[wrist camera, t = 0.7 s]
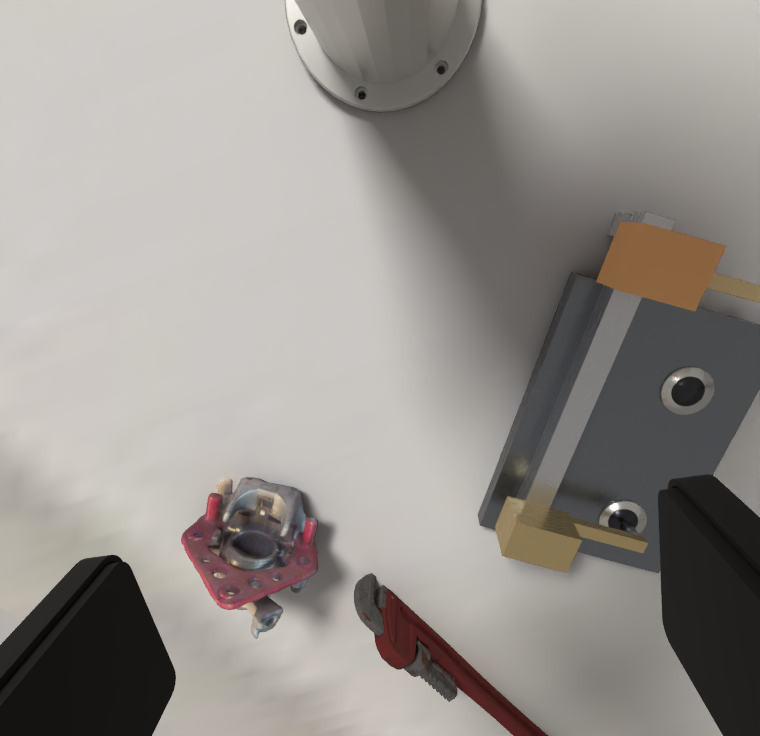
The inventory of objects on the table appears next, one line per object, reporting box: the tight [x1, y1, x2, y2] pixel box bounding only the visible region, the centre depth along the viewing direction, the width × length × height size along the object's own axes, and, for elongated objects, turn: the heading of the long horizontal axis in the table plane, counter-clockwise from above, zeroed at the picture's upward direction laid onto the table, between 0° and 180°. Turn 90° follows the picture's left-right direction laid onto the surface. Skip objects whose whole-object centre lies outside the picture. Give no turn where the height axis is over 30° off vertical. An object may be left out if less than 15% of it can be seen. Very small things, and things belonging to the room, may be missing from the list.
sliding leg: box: [596, 221, 760, 311], centre depth 32 cm, size 4×11×5 cm, turn 75°
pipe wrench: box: [354, 573, 548, 736], centre depth 47 cm, size 7×2×30 cm
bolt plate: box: [478, 212, 760, 573], centre depth 36 cm, size 27×16×7 cm, turn 165°
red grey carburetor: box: [181, 477, 318, 639], centre depth 42 cm, size 11×11×12 cm
